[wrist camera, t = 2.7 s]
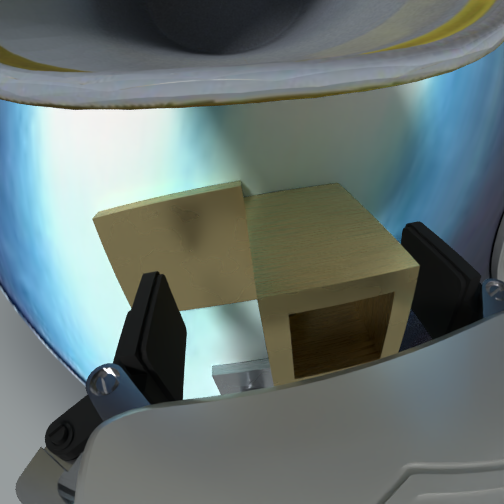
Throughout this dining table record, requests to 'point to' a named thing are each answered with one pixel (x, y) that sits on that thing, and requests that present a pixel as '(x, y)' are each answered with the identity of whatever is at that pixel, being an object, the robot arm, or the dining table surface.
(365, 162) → the dining table surface
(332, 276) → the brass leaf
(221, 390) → the steel leaf with pin
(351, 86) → the ceramic cup
